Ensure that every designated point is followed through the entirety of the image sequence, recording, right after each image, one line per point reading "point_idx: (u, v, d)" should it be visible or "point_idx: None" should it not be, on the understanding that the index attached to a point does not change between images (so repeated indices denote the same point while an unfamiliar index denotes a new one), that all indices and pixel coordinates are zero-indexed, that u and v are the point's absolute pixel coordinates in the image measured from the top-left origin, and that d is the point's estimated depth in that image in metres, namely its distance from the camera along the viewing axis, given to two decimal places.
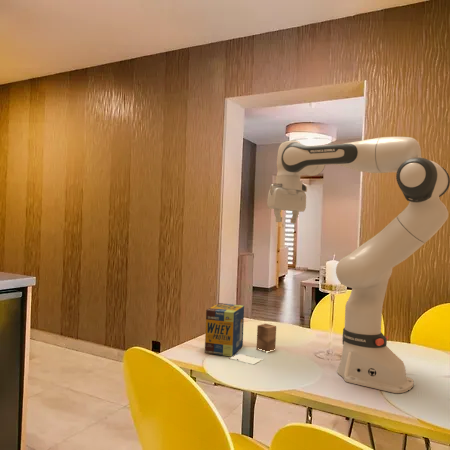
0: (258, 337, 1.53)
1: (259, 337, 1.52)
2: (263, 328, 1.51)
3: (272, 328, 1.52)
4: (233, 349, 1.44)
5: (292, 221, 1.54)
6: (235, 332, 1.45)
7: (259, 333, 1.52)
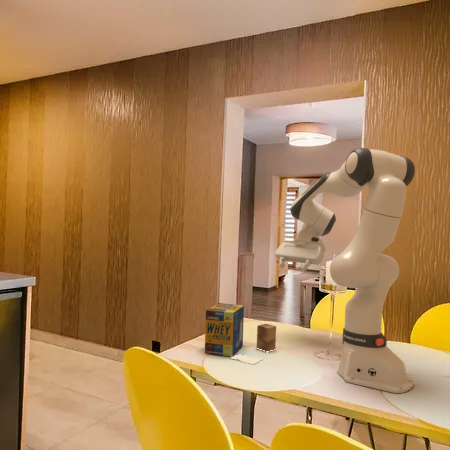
0: (258, 337, 1.53)
1: (259, 337, 1.52)
2: (263, 328, 1.51)
3: (272, 328, 1.52)
4: (233, 349, 1.44)
5: None
6: (235, 332, 1.45)
7: (259, 333, 1.52)
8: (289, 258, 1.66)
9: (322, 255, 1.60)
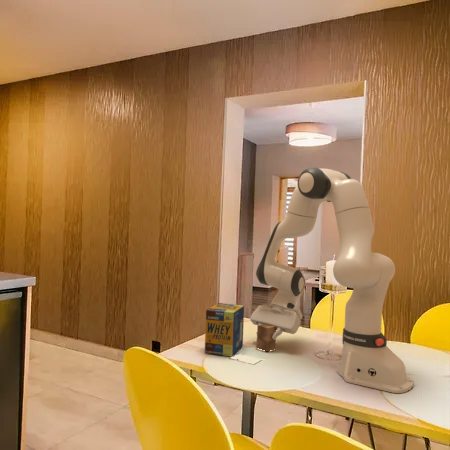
0: (258, 336, 1.53)
1: (259, 337, 1.52)
2: (263, 328, 1.51)
3: (272, 328, 1.52)
4: (233, 349, 1.44)
5: None
6: (235, 332, 1.45)
7: (259, 333, 1.52)
8: None
9: (298, 323, 1.52)
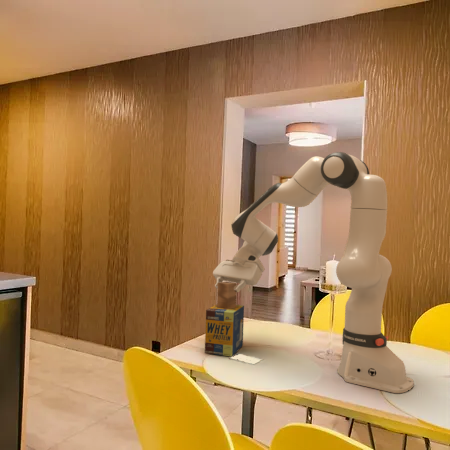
0: (219, 294, 1.51)
1: (219, 294, 1.50)
2: (223, 285, 1.49)
3: (232, 285, 1.50)
4: (233, 349, 1.44)
5: None
6: (235, 332, 1.45)
7: (220, 290, 1.50)
8: (227, 278, 1.56)
9: (259, 275, 1.49)
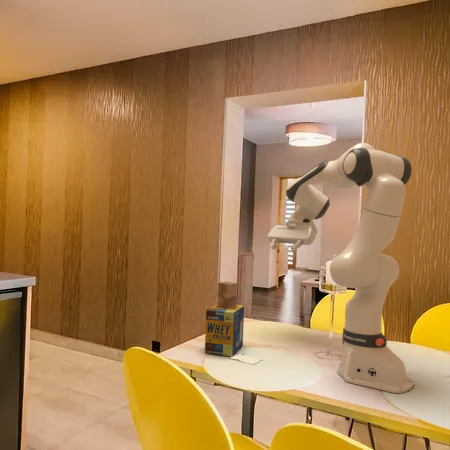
0: (219, 294, 1.51)
1: (219, 294, 1.50)
2: (223, 285, 1.49)
3: (232, 285, 1.50)
4: (233, 349, 1.44)
5: None
6: (235, 332, 1.45)
7: (220, 290, 1.50)
8: (281, 240, 1.69)
9: (314, 235, 1.62)
